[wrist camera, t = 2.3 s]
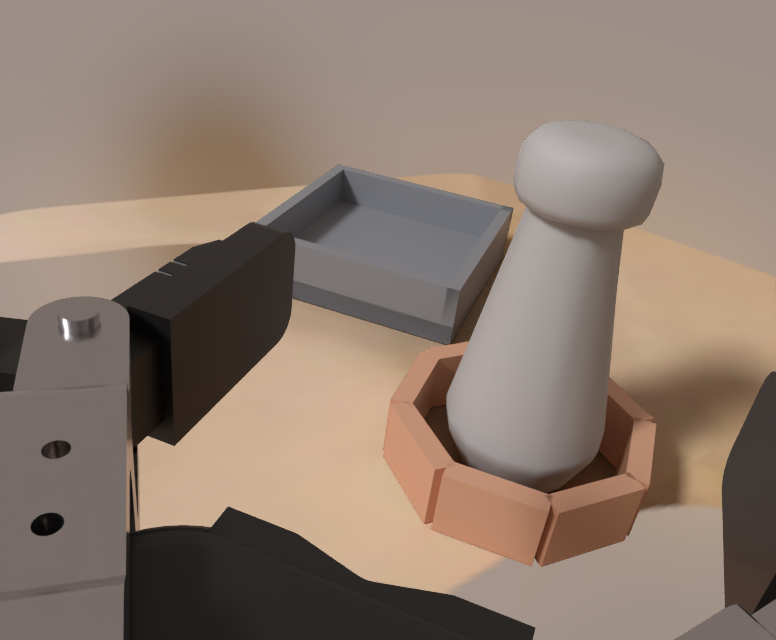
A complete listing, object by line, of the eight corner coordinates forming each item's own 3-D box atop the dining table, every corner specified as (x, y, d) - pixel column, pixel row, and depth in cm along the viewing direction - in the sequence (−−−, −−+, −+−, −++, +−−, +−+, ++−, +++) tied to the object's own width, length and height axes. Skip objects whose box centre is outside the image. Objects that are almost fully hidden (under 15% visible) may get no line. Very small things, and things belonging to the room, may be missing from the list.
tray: (503, 254, 44) (513, 208, 42) (449, 345, 35) (459, 290, 33) (334, 209, 47) (338, 164, 45) (244, 283, 38) (245, 229, 36)
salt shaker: (618, 496, 28) (746, 163, 21) (489, 537, 25) (586, 177, 18) (528, 402, 32) (609, 101, 25) (411, 430, 30) (465, 105, 23)
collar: (642, 429, 31) (661, 382, 30) (620, 599, 24) (643, 545, 22) (434, 364, 34) (443, 318, 32) (353, 500, 26) (359, 446, 25)
